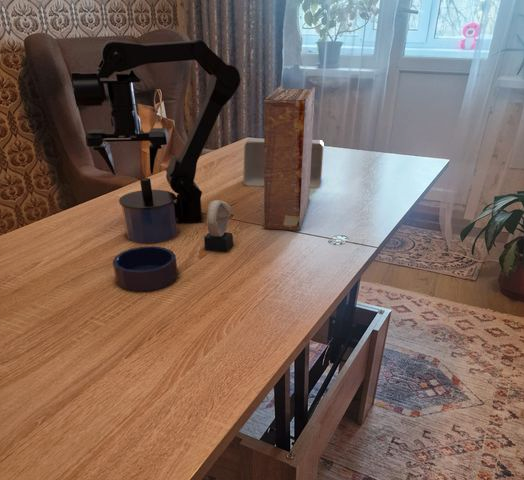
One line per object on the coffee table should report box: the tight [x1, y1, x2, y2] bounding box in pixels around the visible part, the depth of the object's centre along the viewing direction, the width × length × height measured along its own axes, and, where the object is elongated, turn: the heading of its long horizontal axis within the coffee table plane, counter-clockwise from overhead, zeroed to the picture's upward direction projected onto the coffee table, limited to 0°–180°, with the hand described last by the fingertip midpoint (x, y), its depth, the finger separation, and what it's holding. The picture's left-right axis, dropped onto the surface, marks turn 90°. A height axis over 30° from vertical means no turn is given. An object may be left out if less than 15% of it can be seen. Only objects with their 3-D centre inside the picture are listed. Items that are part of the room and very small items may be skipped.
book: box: [263, 85, 316, 232], centre depth 125 cm, size 25×9×30 cm, turn 170°
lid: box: [118, 177, 177, 210], centre depth 116 cm, size 14×14×6 cm
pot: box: [121, 202, 179, 244], centre depth 120 cm, size 13×13×8 cm
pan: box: [112, 245, 178, 293], centre depth 101 cm, size 13×13×4 cm
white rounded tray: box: [242, 137, 325, 189], centre depth 157 cm, size 25×16×12 cm, turn 83°
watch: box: [203, 199, 234, 253], centre depth 112 cm, size 6×8×11 cm
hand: (133, 174), depth 120 cm, fingers open, 9 cm apart
